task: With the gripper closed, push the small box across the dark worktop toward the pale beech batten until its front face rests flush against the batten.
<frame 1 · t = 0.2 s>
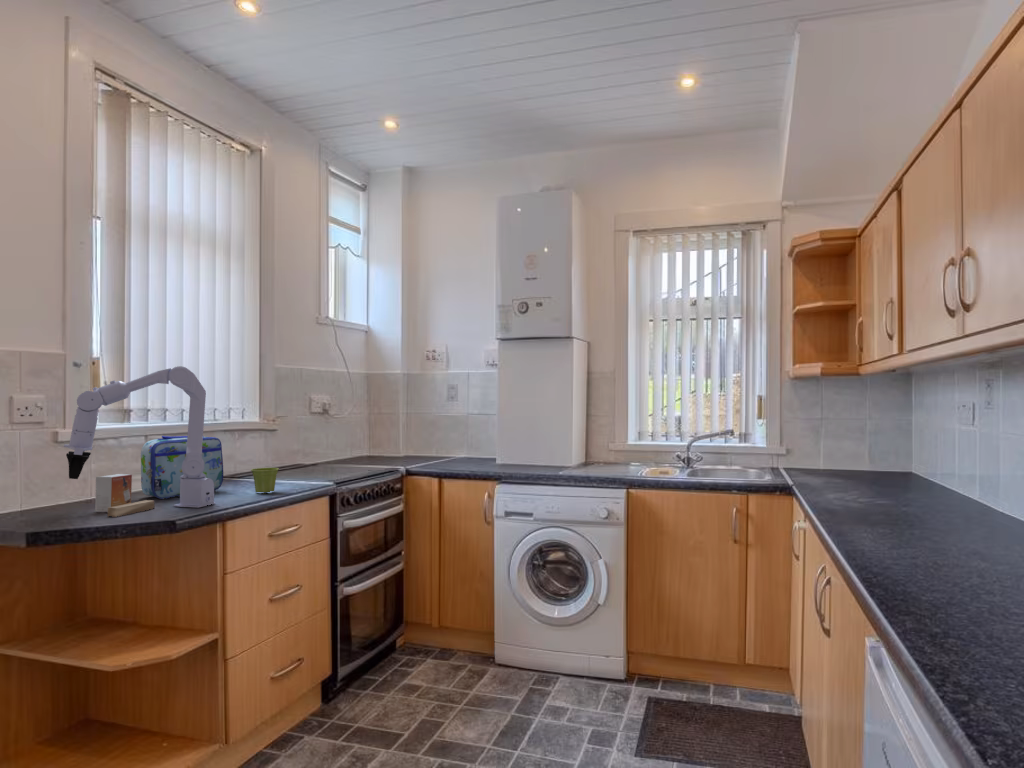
hand: (74, 477, 187), 10 cm above the countertop, tool pointing down, fingers open, 7 cm apart
small box: (113, 510, 192), on the countertop
plant pot: (264, 493, 227), on the countertop
batten: (131, 512, 188), on the countertop
lunch box: (182, 495, 222), on the countertop
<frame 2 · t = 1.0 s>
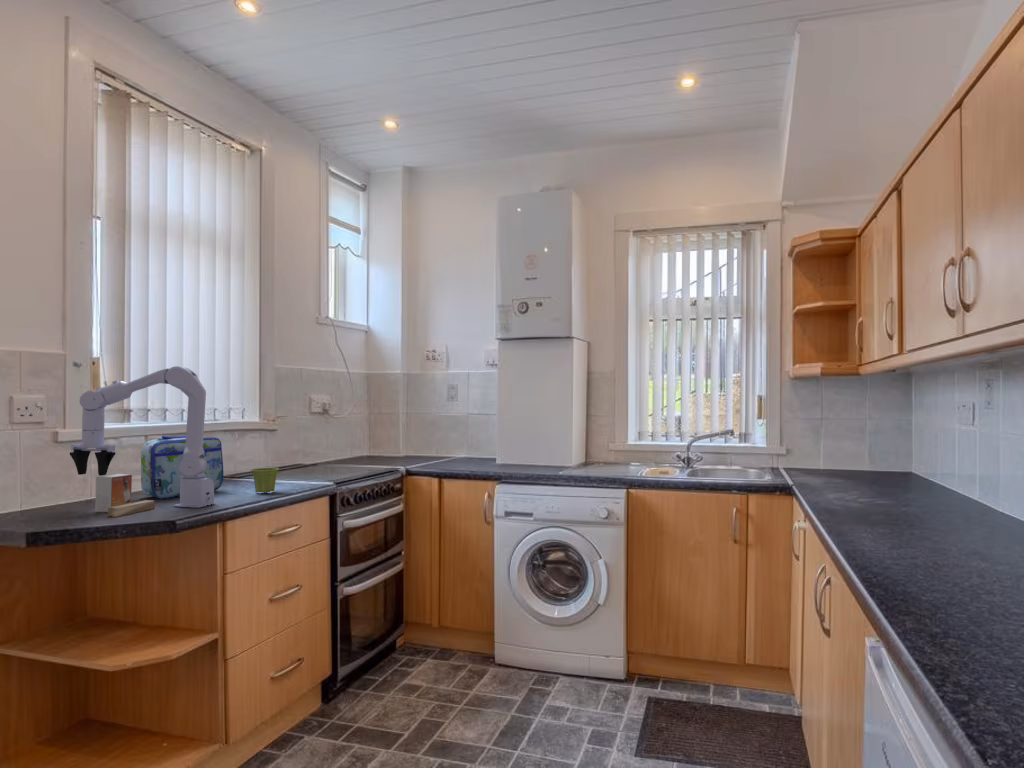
hand: (92, 474, 194), 10 cm above the countertop, tool pointing down, fingers open, 7 cm apart
nothing on the countertop moved.
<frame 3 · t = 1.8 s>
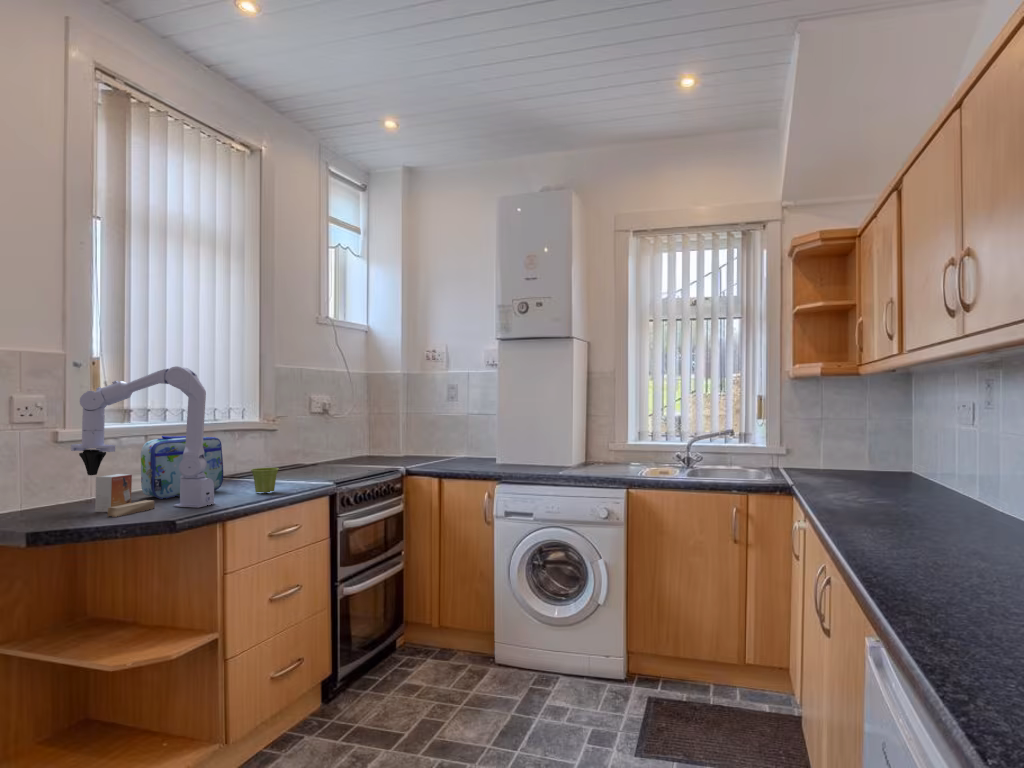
hand: (92, 475, 194), 10 cm above the countertop, tool pointing down, fingers closed
nothing on the countertop moved.
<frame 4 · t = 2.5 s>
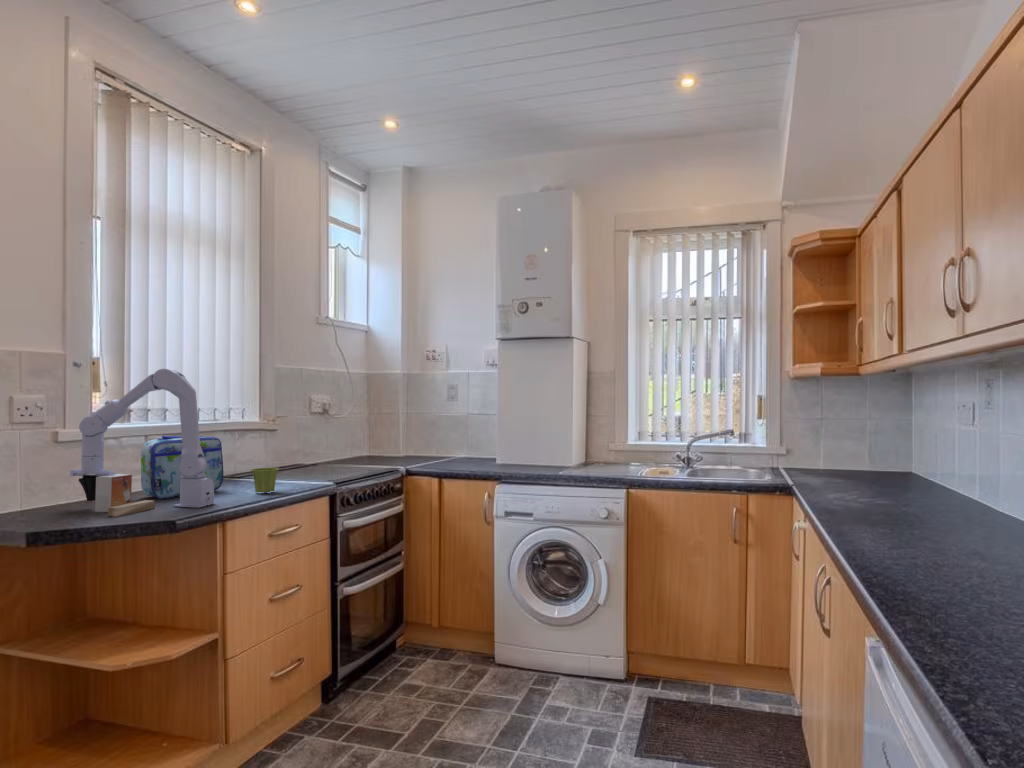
hand: (91, 500, 194), 3 cm above the countertop, tool pointing down, fingers closed
nothing on the countertop moved.
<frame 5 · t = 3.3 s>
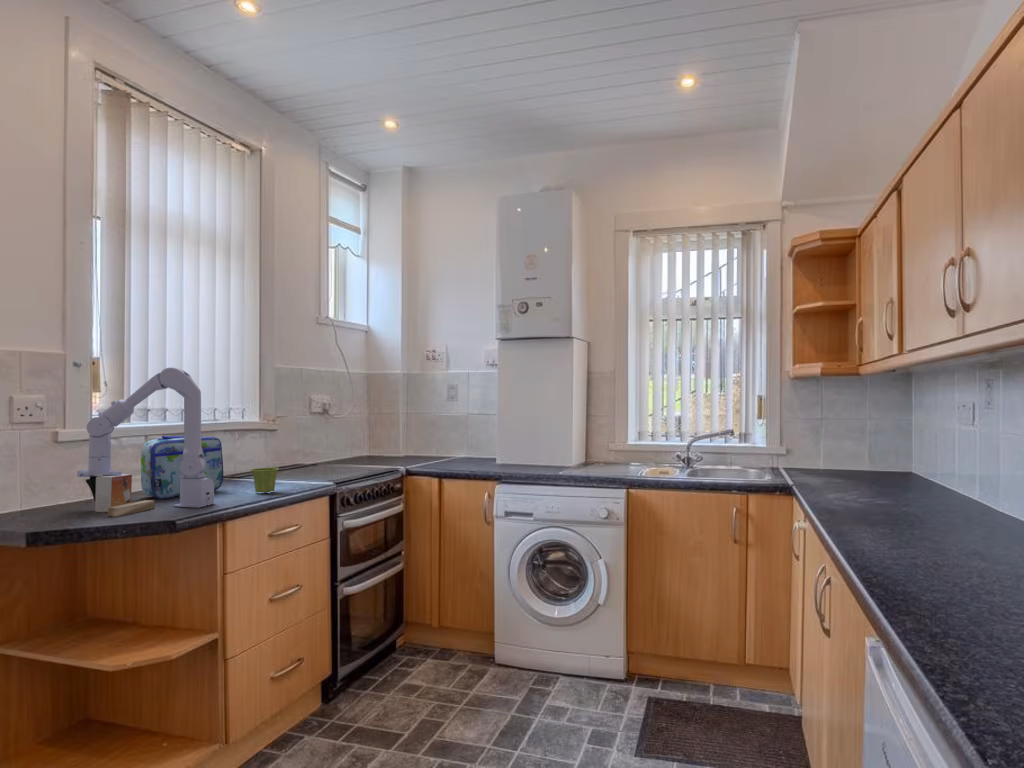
hand: (98, 501, 193), 2 cm above the countertop, tool pointing down, fingers closed
small box: (113, 510, 192), on the countertop, touching gripper
everything else where it was.
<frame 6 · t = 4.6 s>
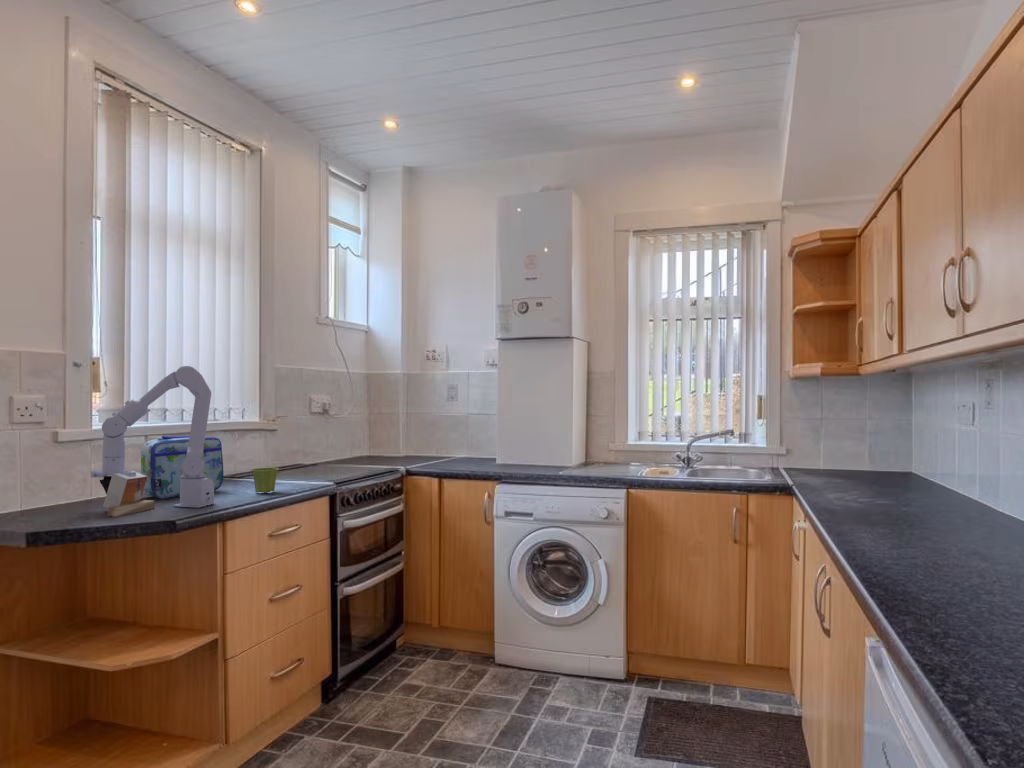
hand: (112, 501, 192), 2 cm above the countertop, tool pointing down, fingers closed
small box: (120, 508, 191), point 1 cm above the countertop, touching gripper
everything else where it was.
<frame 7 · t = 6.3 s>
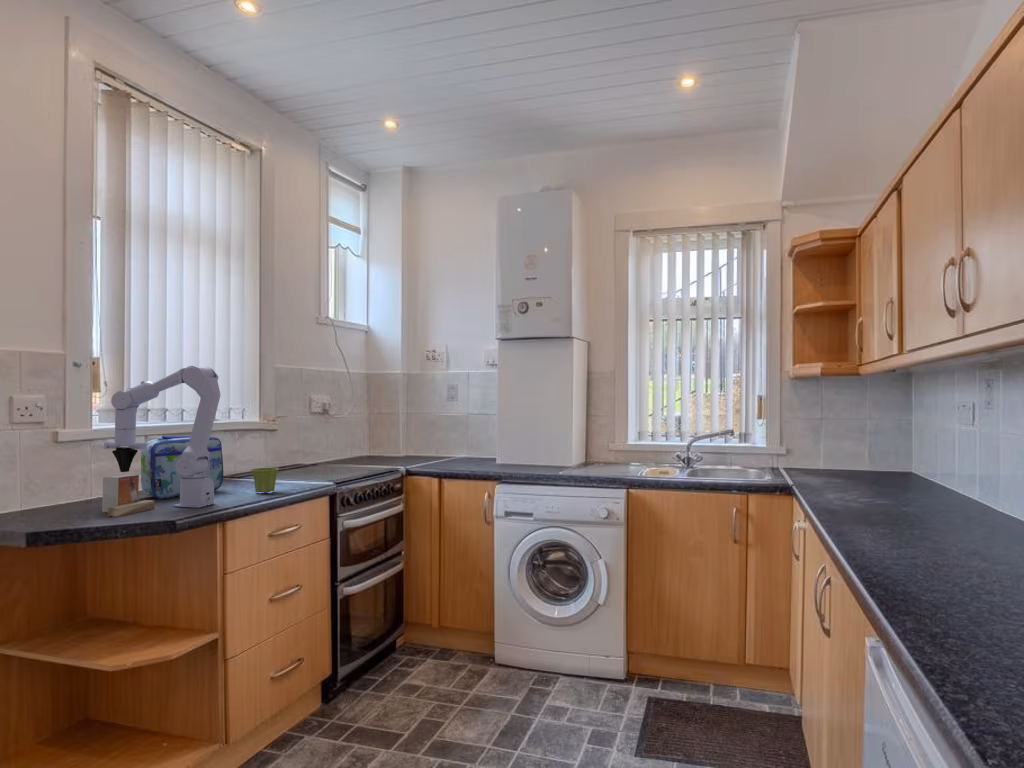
hand: (124, 471, 202), 10 cm above the countertop, tool pointing down, fingers closed
small box: (120, 511, 191), on the countertop
everything else where it was.
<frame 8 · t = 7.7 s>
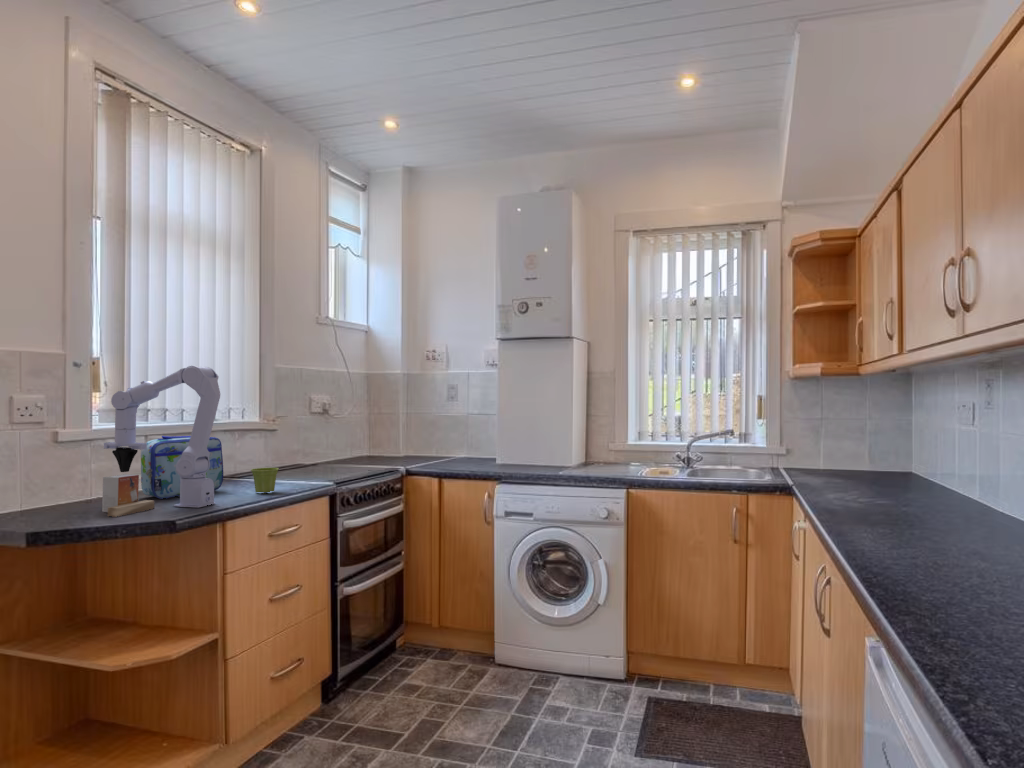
hand: (124, 471, 202), 10 cm above the countertop, tool pointing down, fingers closed
nothing on the countertop moved.
at the end: small box inside the target area on the countertop beside the batten (2.3 cm from its centre), on the countertop; small box tilted 0° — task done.
